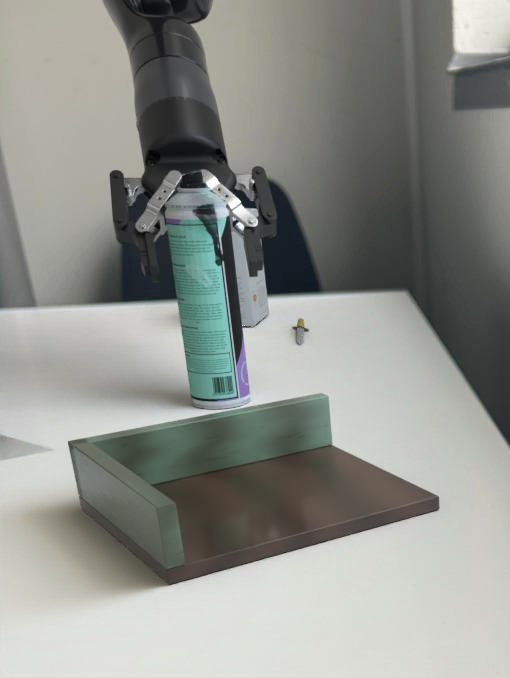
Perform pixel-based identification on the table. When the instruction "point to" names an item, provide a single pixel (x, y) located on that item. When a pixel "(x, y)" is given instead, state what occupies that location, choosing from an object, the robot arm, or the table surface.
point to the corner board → (235, 487)
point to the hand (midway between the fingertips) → (205, 274)
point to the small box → (249, 284)
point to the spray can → (207, 295)
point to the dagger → (300, 330)
